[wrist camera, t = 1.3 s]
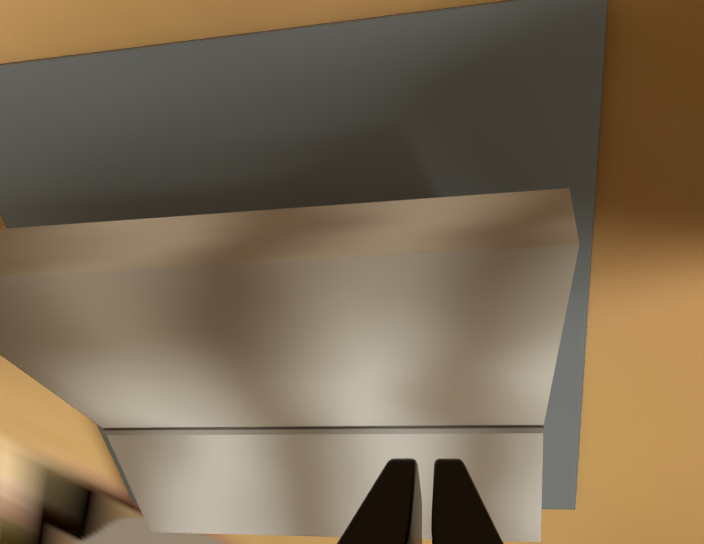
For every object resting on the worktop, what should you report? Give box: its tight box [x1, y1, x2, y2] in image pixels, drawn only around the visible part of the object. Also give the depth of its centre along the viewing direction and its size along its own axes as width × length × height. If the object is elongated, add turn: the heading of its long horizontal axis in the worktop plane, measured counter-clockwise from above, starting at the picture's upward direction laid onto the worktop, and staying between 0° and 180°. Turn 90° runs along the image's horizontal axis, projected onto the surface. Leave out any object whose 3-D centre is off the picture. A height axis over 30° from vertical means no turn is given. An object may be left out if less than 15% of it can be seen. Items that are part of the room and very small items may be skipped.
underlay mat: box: [0, 0, 608, 510], centre depth 22 cm, size 19×19×1 cm
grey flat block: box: [103, 425, 544, 542], centre depth 24 cm, size 16×6×2 cm, turn 98°
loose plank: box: [0, 188, 580, 428], centre depth 18 cm, size 16×10×2 cm, turn 98°
